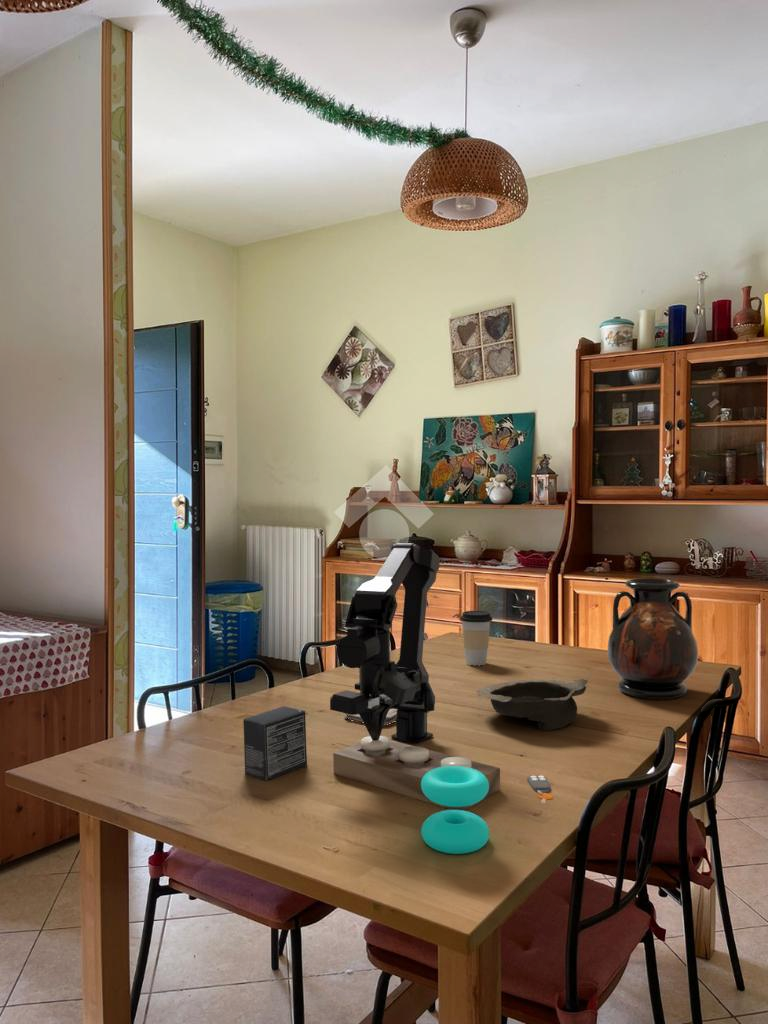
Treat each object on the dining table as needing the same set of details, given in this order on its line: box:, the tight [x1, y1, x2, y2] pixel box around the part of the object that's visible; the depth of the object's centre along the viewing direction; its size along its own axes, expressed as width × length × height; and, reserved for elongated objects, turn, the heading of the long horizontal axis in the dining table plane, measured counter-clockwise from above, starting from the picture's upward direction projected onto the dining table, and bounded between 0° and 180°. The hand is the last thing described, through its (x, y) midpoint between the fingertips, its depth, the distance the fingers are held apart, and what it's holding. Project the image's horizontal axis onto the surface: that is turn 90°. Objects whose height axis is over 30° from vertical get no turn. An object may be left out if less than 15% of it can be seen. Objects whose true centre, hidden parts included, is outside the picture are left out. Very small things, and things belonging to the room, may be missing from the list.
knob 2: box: [441, 756, 472, 768], centre depth 135 cm, size 5×5×5 cm
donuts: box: [420, 766, 490, 855], centre depth 117 cm, size 10×10×10 cm
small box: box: [242, 705, 308, 782], centre depth 147 cm, size 11×6×10 cm, turn 141°
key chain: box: [526, 774, 554, 804], centre depth 135 cm, size 13×4×2 cm, turn 1°
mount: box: [332, 739, 501, 811], centre depth 141 cm, size 12×28×4 cm, turn 51°
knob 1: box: [360, 735, 390, 756], centre depth 146 cm, size 5×5×5 cm
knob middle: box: [399, 745, 429, 767], centre depth 140 cm, size 5×5×5 cm
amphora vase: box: [607, 577, 699, 700], centre depth 198 cm, size 22×22×28 cm
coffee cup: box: [459, 610, 493, 667], centre depth 231 cm, size 9×9×15 cm
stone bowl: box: [476, 678, 589, 732], centre depth 177 cm, size 25×25×9 cm
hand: (375, 739), depth 146 cm, fingers closed, pressing on knob 1
